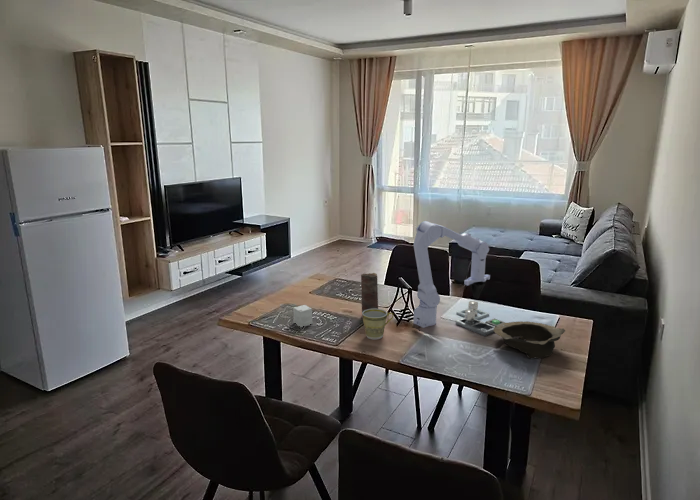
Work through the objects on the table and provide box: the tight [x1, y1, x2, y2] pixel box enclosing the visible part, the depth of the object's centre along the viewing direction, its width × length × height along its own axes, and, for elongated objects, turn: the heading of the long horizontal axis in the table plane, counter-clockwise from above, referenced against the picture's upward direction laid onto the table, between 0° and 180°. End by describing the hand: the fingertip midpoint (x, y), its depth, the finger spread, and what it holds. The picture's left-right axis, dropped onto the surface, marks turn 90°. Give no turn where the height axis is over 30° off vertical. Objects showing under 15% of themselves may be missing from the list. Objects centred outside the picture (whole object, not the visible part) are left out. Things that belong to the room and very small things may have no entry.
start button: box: [491, 319, 501, 325], centre depth 192 cm, size 3×3×2 cm
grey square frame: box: [456, 307, 490, 320], centre depth 203 cm, size 10×10×2 cm
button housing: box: [484, 317, 507, 326], centre depth 192 cm, size 6×6×2 cm
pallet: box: [455, 317, 495, 337], centre depth 189 cm, size 8×15×2 cm, turn 36°
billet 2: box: [464, 310, 476, 325], centre depth 191 cm, size 4×4×6 cm
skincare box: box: [292, 304, 314, 328], centre depth 196 cm, size 6×6×7 cm
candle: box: [360, 272, 379, 313], centre depth 202 cm, size 8×7×20 cm
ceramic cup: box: [361, 308, 394, 341], centre depth 184 cm, size 13×10×10 cm
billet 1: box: [467, 300, 479, 317], centre depth 202 cm, size 4×4×6 cm
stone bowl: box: [493, 320, 566, 359], centre depth 172 cm, size 25×25×9 cm
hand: (476, 297), depth 199 cm, fingers closed
